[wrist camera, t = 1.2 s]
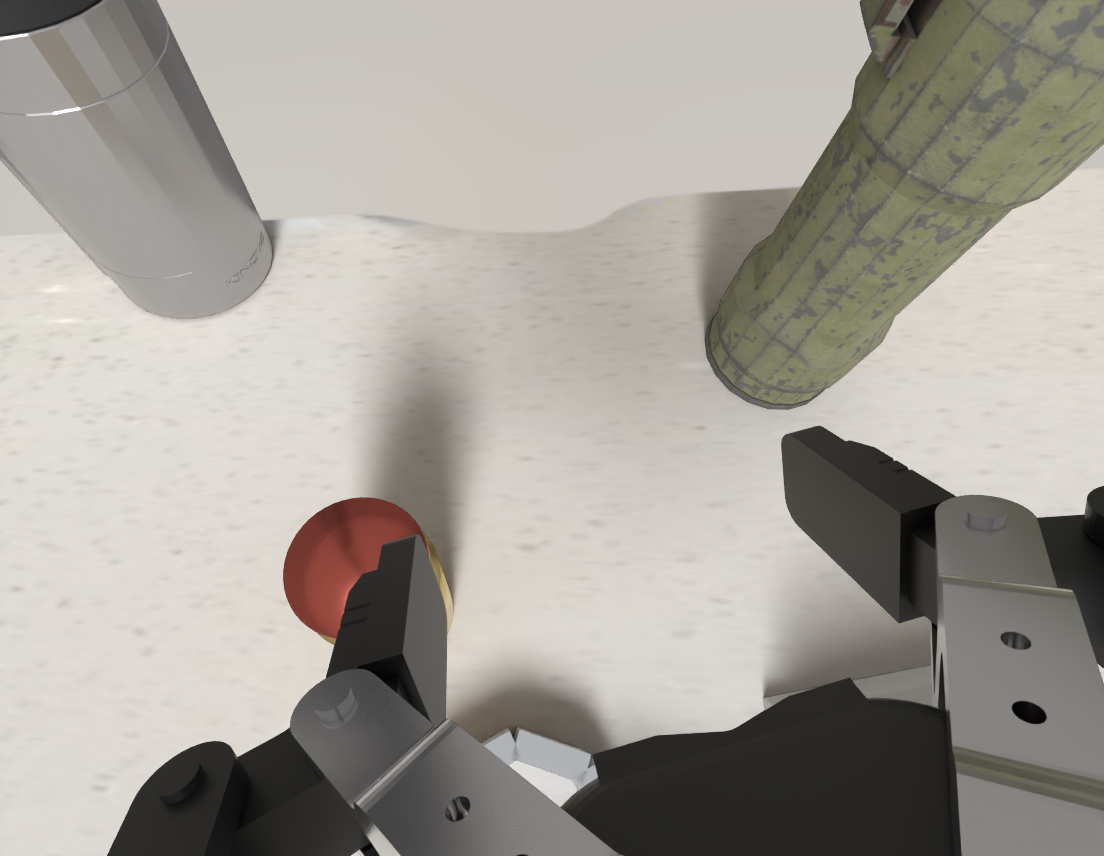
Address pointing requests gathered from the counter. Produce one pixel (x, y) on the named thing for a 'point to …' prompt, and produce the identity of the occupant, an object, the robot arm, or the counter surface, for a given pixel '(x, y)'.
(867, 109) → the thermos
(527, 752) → the grey octagonal holder
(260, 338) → the counter surface
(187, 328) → the counter surface
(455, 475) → the counter surface
